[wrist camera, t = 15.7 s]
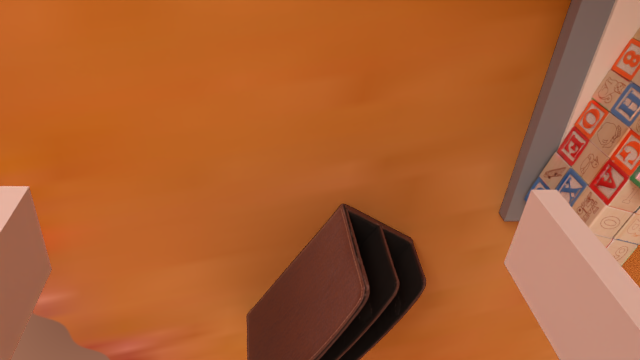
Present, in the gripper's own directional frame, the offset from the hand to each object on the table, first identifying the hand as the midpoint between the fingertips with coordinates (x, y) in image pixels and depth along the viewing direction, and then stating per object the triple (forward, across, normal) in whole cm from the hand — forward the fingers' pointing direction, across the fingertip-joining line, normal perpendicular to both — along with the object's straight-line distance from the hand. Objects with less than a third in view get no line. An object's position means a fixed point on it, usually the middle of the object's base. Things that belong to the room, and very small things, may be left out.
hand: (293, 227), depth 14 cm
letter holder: (+33, +8, -34) cm, 48 cm away
